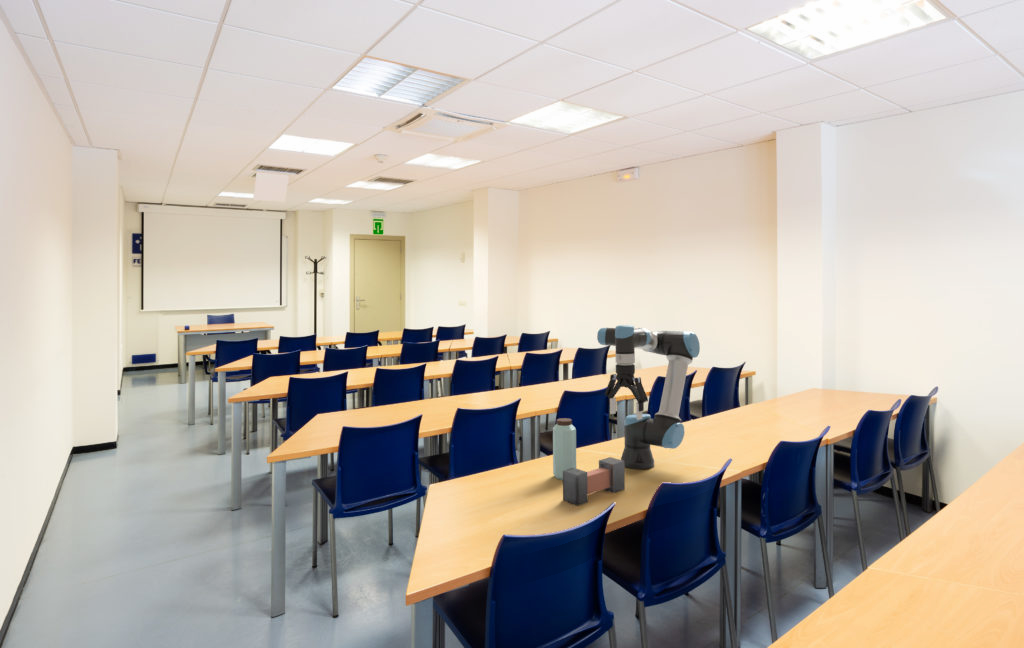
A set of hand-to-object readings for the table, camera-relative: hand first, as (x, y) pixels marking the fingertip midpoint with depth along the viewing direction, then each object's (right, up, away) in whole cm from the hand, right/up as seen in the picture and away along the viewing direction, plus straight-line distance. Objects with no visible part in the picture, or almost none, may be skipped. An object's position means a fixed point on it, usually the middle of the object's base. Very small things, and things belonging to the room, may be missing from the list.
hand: (625, 416), depth 220 cm
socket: (-22, -30, -12) cm, 39 cm away
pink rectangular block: (-15, -28, -7) cm, 33 cm away
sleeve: (-5, -30, +1) cm, 30 cm away
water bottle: (-23, -29, +17) cm, 41 cm away
